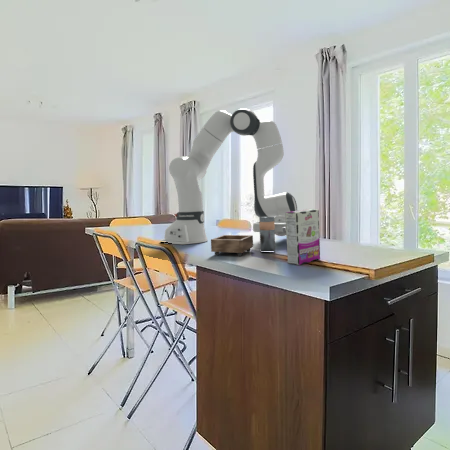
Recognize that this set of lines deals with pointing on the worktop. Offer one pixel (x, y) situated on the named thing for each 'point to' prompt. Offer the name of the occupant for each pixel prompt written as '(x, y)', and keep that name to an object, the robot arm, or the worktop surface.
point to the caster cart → (232, 244)
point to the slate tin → (267, 233)
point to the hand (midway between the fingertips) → (272, 229)
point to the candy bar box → (302, 236)
